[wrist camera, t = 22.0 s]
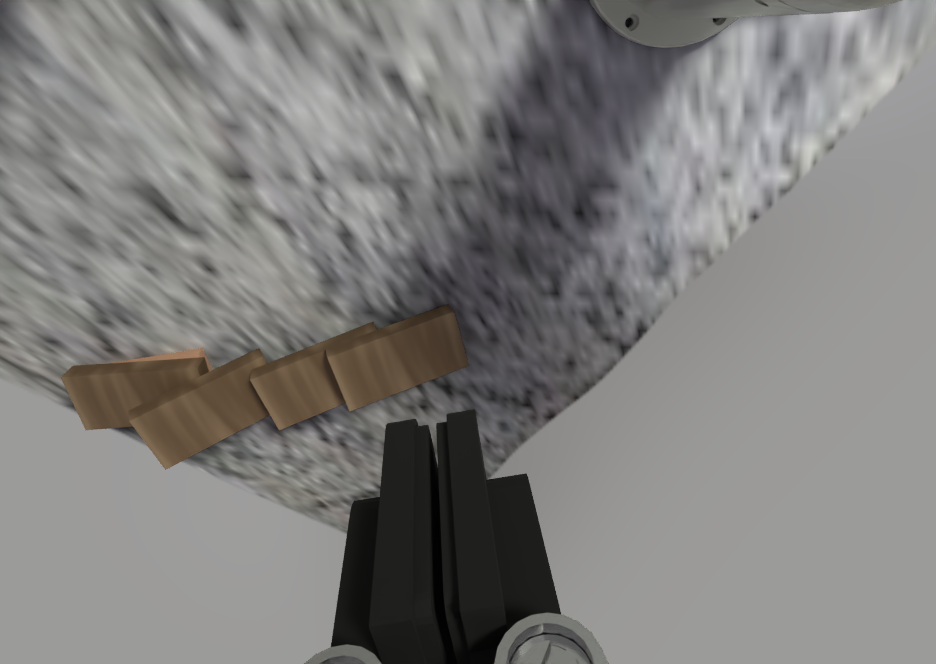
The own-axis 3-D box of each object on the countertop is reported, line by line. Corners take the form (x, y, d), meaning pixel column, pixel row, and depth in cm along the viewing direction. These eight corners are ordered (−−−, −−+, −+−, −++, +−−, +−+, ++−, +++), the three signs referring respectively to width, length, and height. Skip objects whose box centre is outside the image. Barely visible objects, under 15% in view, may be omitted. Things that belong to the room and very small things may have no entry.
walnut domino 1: (197, 368, 42) (60, 377, 41) (214, 420, 44) (85, 429, 44) (204, 357, 43) (72, 365, 43) (220, 408, 46) (96, 417, 45)
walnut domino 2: (263, 356, 42) (129, 421, 39) (289, 404, 45) (165, 469, 42) (259, 348, 44) (128, 410, 40) (284, 395, 46) (163, 458, 43)
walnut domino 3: (376, 330, 42) (249, 380, 41) (397, 381, 45) (279, 430, 43) (373, 321, 44) (251, 370, 42) (394, 372, 46) (279, 419, 45)
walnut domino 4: (454, 311, 42) (327, 357, 40) (468, 365, 44) (349, 411, 42) (448, 304, 43) (325, 348, 41) (462, 356, 46) (347, 400, 44)
